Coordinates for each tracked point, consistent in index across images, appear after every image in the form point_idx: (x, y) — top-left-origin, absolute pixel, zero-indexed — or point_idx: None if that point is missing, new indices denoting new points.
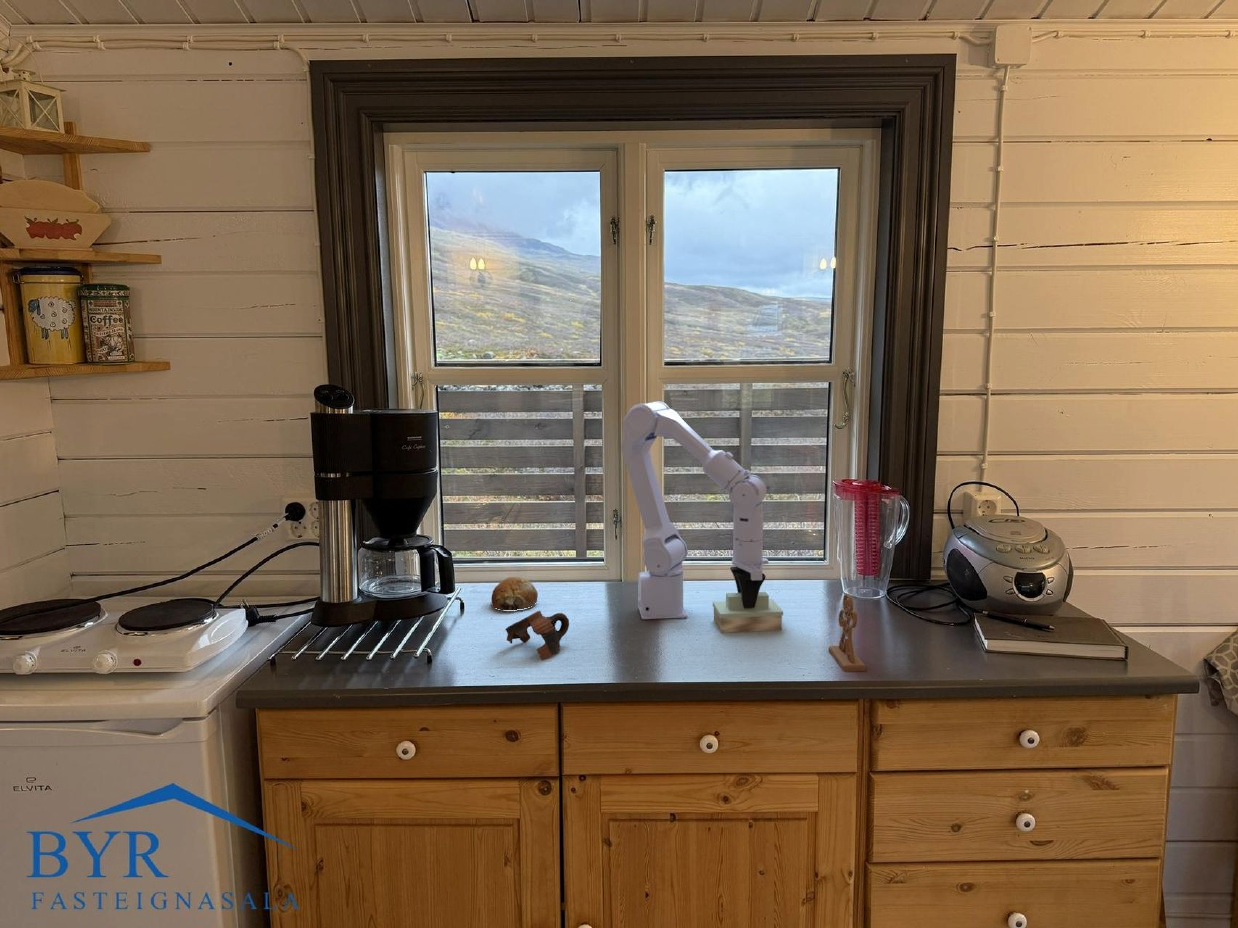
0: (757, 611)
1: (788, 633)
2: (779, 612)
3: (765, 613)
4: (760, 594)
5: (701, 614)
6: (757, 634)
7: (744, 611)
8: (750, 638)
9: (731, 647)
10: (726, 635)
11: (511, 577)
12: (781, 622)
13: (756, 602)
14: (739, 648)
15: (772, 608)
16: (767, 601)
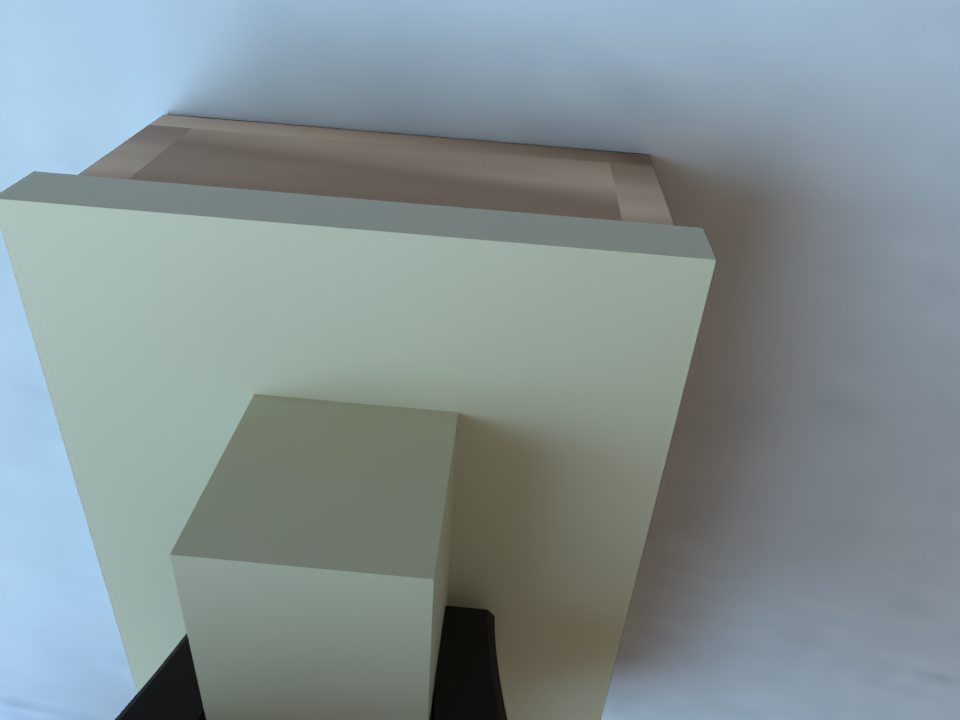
0: (587, 585)
1: (797, 107)
2: (700, 316)
3: (652, 500)
4: (348, 668)
5: (109, 676)
6: (692, 447)
7: (545, 694)
8: (768, 531)
9: (891, 694)
10: (627, 657)
11: None
12: (659, 195)
13: (440, 631)
14: (943, 658)
15: (506, 370)
16: (442, 501)
